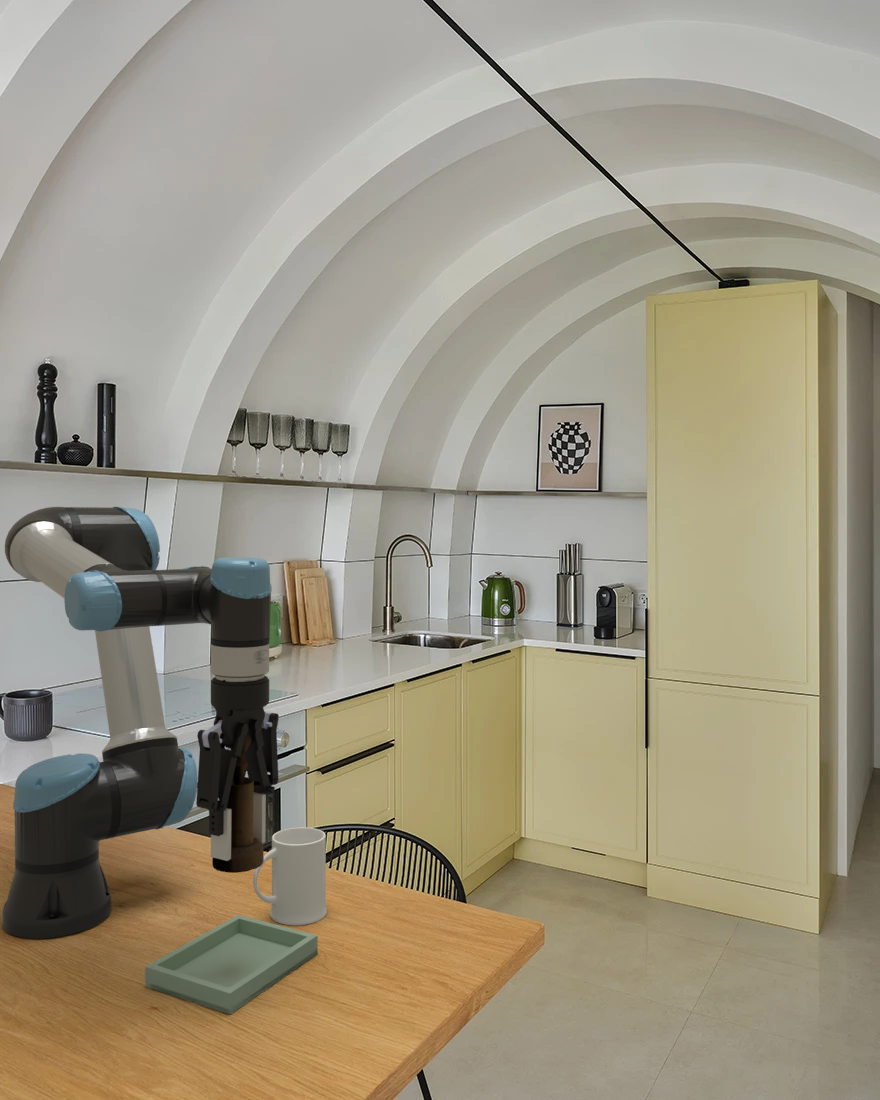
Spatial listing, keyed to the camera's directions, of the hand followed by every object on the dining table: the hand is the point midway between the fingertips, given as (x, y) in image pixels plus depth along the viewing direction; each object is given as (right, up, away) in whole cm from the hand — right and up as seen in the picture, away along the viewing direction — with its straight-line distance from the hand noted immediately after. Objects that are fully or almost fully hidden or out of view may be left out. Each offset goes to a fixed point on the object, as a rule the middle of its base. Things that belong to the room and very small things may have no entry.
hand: (238, 848), depth 124 cm
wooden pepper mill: (0, -2, 0) cm, 2 cm away
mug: (+4, -16, +18) cm, 24 cm away
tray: (-1, -16, +1) cm, 16 cm away
